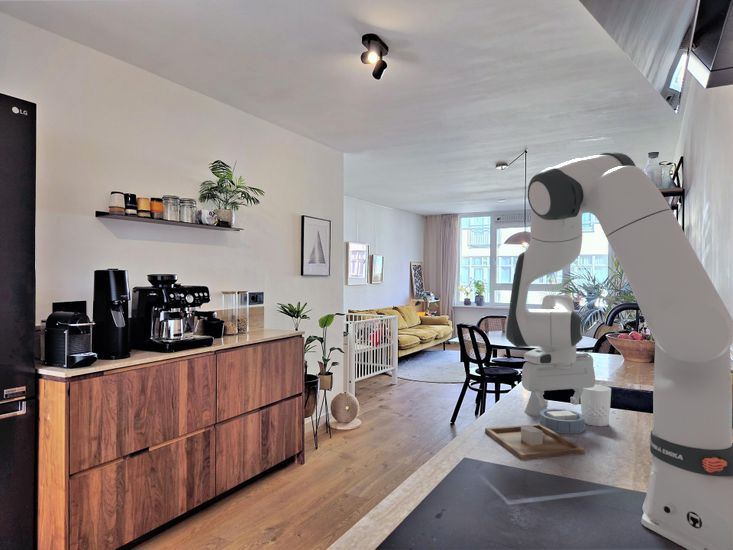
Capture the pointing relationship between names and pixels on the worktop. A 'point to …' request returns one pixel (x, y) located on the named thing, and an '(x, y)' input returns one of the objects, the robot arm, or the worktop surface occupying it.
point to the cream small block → (555, 415)
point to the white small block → (569, 415)
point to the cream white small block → (532, 435)
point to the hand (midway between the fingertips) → (559, 405)
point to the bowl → (562, 422)
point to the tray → (523, 450)
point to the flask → (534, 405)
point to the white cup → (596, 405)
